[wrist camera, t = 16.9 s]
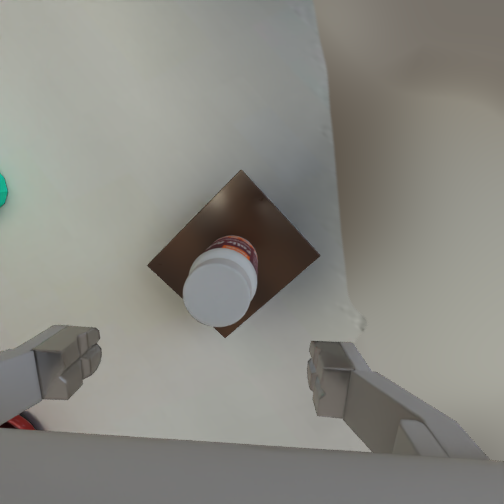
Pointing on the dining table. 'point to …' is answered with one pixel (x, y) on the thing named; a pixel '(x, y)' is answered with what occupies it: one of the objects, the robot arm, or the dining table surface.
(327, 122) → the dining table surface
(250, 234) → the walnut box
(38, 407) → the dining table surface
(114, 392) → the dining table surface
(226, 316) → the pill bottle
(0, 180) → the candle
